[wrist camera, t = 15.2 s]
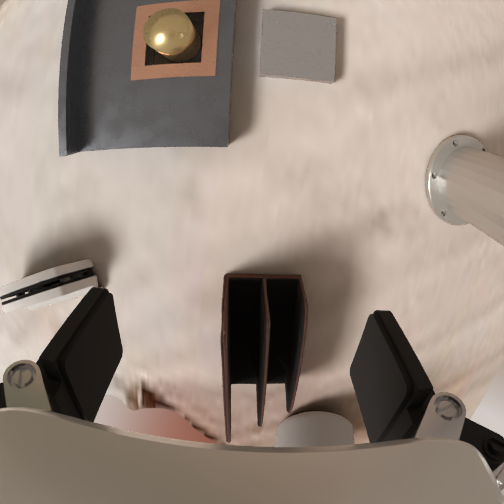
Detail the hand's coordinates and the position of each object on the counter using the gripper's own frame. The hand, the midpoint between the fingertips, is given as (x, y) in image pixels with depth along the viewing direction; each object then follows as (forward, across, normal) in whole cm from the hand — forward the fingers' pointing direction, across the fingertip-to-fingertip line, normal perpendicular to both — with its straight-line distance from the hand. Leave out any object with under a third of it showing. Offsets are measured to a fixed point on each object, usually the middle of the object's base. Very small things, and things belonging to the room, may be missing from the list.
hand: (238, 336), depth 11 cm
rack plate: (+27, +12, -16) cm, 33 cm away
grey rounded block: (+27, +28, +16) cm, 42 cm away
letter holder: (+28, -3, +22) cm, 35 cm away
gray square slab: (+27, -4, -16) cm, 32 cm away
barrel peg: (+27, +9, -16) cm, 33 cm away
